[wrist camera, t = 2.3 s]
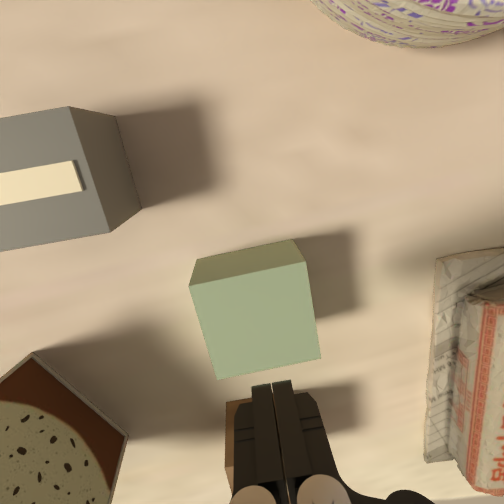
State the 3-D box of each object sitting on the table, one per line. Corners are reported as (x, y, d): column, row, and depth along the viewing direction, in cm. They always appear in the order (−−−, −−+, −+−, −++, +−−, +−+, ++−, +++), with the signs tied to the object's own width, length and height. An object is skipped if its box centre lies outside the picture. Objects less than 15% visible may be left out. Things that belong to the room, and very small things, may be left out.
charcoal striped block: (21, 132, 16) (-67, 129, 12) (115, 116, 16) (66, 106, 12) (57, 224, 18) (-7, 253, 13) (142, 209, 18) (109, 233, 13)
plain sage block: (197, 258, 19) (188, 286, 16) (291, 238, 19) (305, 261, 16) (219, 338, 21) (217, 380, 18) (305, 320, 21) (321, 358, 18)
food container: (-51, 382, 21) (-277, 575, 12) (14, 336, 20) (-175, 504, 11) (82, 481, 25) (-9, 687, 16) (142, 446, 24) (84, 641, 15)
